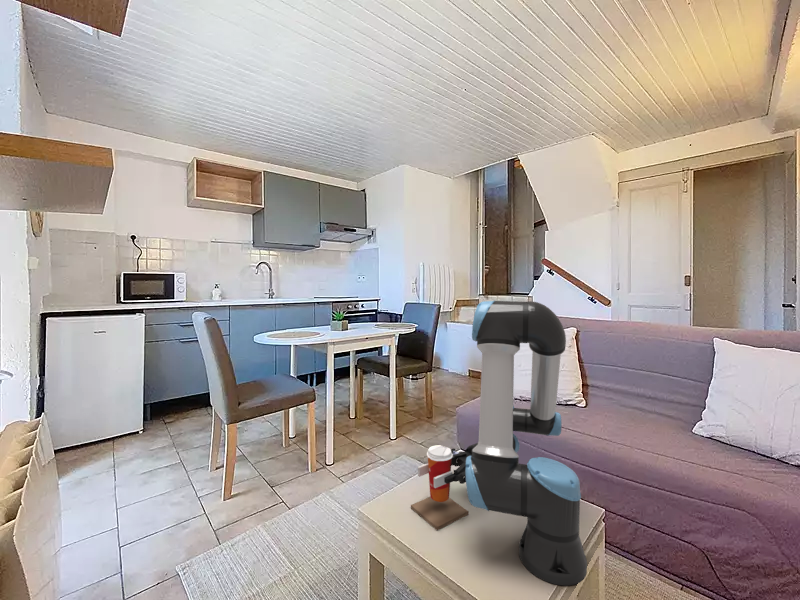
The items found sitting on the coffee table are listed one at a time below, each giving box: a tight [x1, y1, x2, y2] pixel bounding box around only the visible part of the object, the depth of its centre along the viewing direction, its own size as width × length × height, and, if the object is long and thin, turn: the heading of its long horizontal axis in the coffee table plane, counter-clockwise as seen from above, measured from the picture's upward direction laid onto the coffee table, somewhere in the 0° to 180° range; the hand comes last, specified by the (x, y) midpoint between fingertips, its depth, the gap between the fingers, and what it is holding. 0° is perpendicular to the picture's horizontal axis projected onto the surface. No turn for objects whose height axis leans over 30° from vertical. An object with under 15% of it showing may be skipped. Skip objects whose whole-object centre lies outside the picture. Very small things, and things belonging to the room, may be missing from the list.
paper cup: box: [426, 444, 453, 502], centre depth 106 cm, size 8×8×14 cm
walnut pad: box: [410, 496, 469, 531], centre depth 106 cm, size 12×12×1 cm
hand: (426, 477), depth 103 cm, fingers closed on paper cup, 6 cm apart
